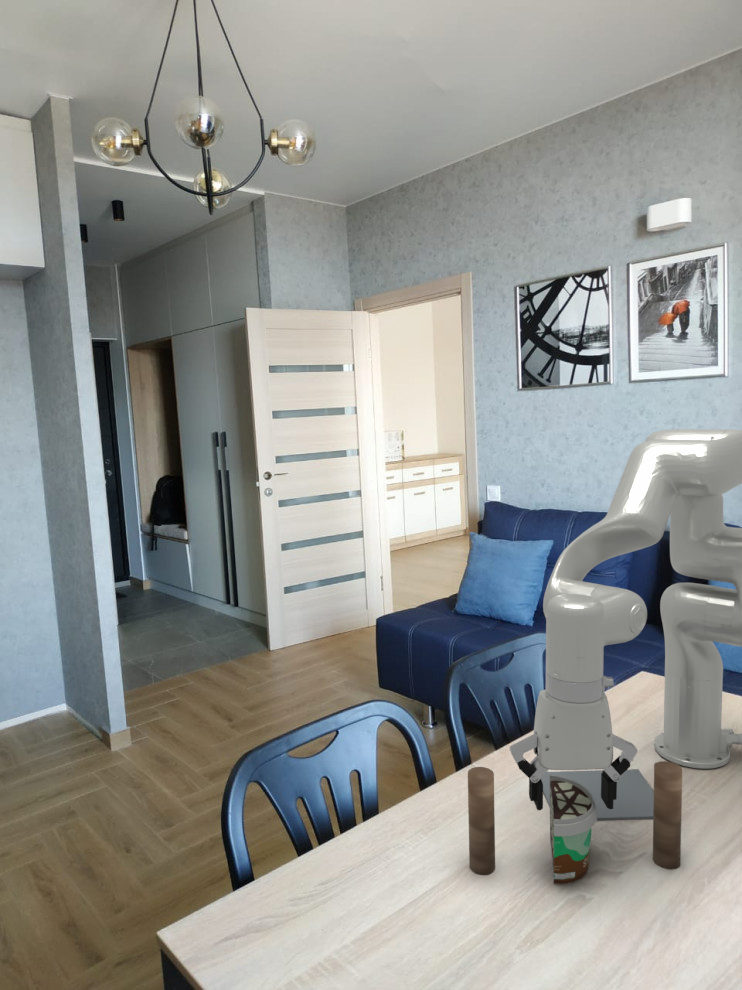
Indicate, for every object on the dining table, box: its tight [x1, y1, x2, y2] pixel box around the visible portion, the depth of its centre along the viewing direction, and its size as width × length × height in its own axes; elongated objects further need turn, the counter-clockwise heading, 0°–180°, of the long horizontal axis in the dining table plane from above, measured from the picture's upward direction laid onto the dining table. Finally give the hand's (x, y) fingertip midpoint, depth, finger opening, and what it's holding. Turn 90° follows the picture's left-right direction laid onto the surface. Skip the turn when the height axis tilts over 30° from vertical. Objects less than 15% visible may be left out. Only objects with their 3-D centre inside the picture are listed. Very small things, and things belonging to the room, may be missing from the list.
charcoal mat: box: [541, 768, 654, 821], centre depth 115 cm, size 18×14×1 cm
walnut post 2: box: [652, 760, 683, 870], centre depth 98 cm, size 4×4×14 cm
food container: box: [549, 775, 598, 885], centre depth 98 cm, size 12×6×10 cm, turn 168°
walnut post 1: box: [467, 766, 496, 876], centre depth 98 cm, size 4×4×14 cm
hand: (572, 804), depth 97 cm, fingers open, 9 cm apart
